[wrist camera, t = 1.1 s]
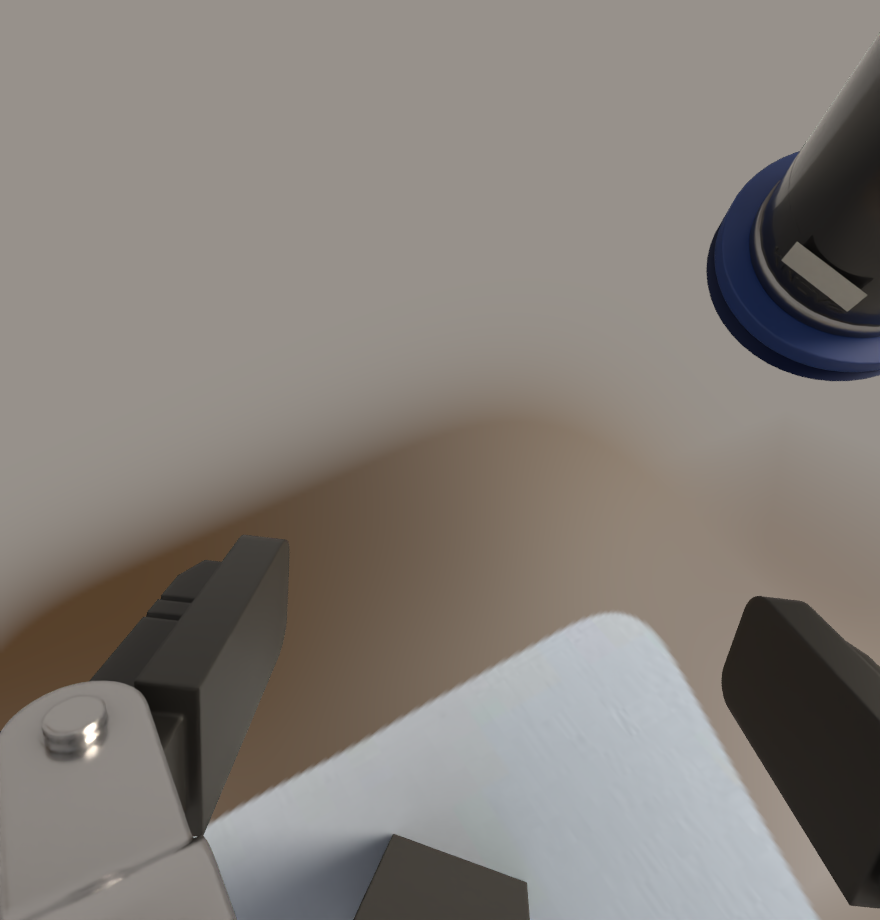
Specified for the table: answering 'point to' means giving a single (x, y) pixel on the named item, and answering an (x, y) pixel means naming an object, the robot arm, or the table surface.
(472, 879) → the tall dark rectangular block
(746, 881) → the table surface
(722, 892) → the table surface
